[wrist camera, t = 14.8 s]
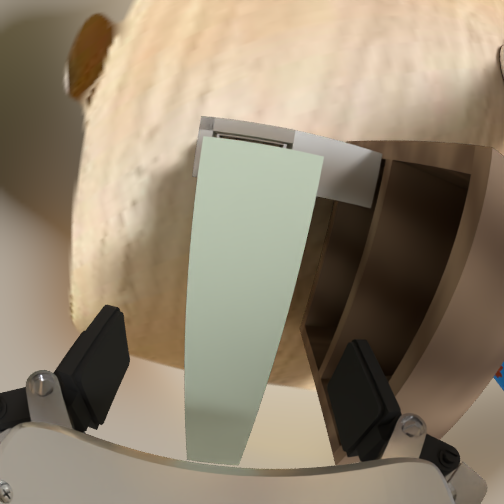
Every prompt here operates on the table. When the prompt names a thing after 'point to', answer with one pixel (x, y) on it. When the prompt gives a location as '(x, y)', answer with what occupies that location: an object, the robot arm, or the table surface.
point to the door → (240, 284)
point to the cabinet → (403, 266)
